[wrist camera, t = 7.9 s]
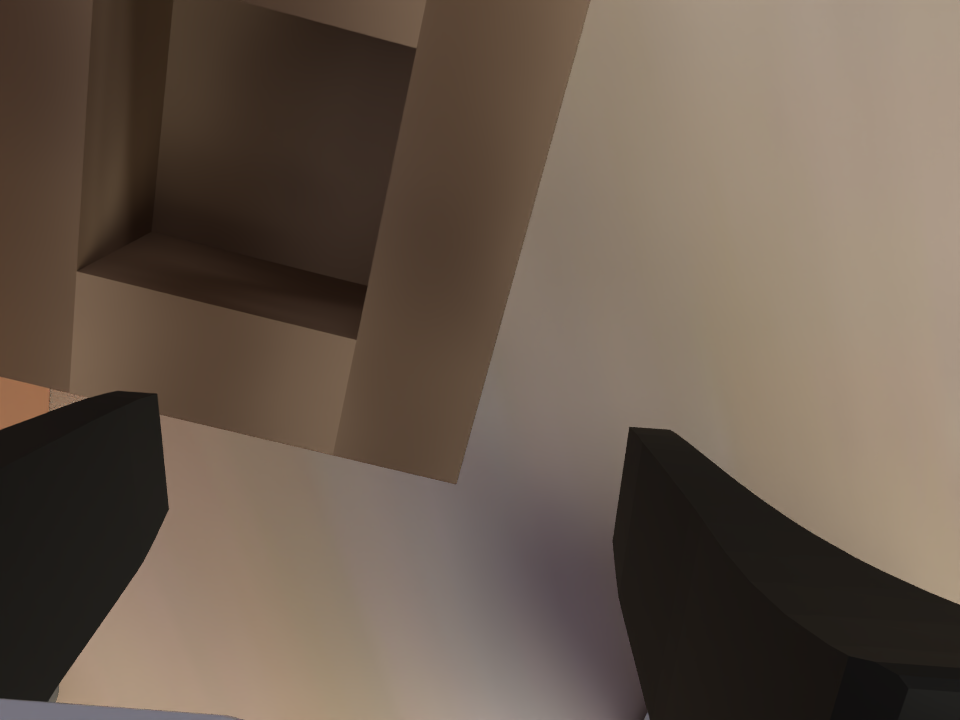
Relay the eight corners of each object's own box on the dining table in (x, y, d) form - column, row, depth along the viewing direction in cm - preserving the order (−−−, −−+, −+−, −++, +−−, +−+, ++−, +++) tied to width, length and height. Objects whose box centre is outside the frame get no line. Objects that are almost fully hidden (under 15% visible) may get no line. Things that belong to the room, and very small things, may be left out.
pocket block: (587, -51, 17) (612, -81, 13) (466, 397, 21) (456, 484, 17) (78, -193, 16) (-68, -274, 12) (54, 297, 21) (-62, 362, 16)
